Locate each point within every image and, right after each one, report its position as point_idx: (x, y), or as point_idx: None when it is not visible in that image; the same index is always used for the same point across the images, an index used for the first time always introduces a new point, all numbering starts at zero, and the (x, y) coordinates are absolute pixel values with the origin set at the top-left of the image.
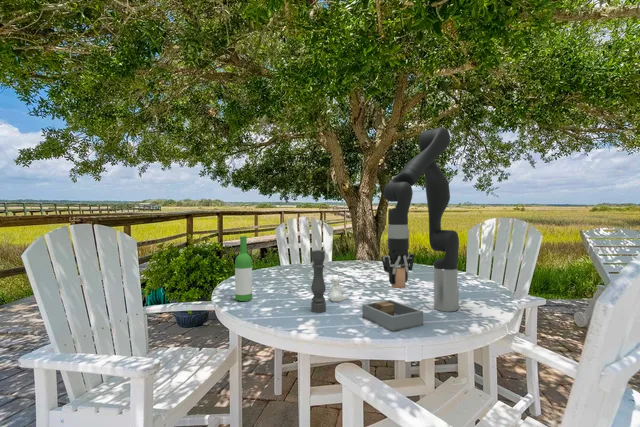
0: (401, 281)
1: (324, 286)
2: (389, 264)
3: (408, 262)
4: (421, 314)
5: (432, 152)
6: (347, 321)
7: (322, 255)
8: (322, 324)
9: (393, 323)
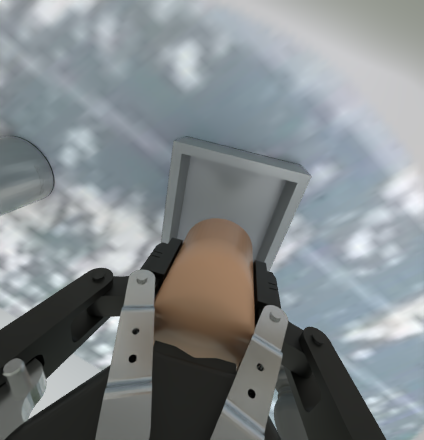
0: (233, 243)
1: (291, 416)
2: (342, 408)
3: (68, 338)
4: (183, 141)
5: None
6: (306, 285)
7: None
8: (363, 310)
9: (304, 170)
